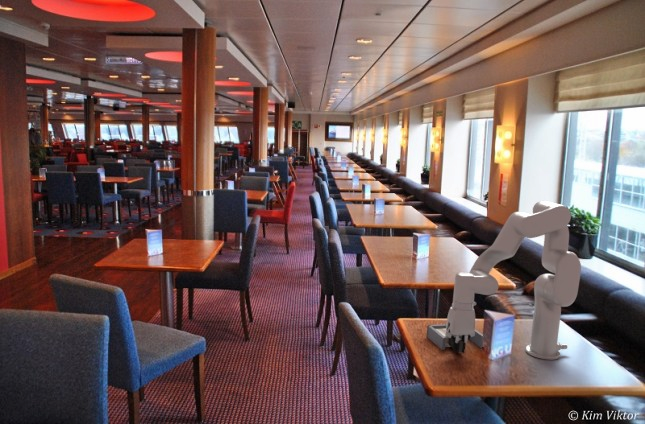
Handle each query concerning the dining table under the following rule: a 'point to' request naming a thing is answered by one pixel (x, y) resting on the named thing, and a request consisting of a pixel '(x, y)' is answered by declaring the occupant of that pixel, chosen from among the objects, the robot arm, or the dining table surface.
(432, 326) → the lane rack
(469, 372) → the dining table surface
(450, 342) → the cream block
